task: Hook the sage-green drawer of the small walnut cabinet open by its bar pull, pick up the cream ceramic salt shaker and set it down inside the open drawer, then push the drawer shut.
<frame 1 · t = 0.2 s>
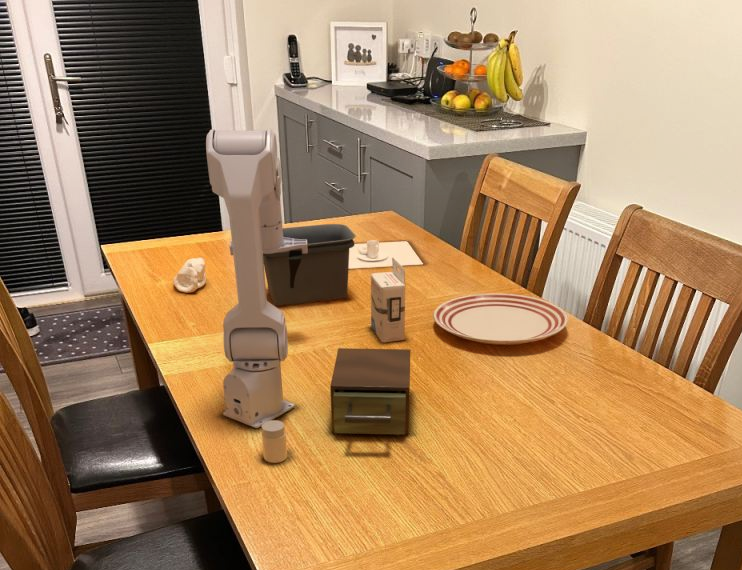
hand: (272, 286, 156), 11 cm above the table, tool pointing down, fingers open, 7 cm apart
storage bin: (306, 296, 182), on the table
cabinet: (372, 411, 135), on the table
ink box: (387, 335, 163), on the table
teacup and saucer: (377, 255, 207), on the table
salt shaker: (275, 456, 122), on the table
dinner plate: (498, 329, 165), on the table
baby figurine: (191, 286, 187), on the table
drawer: (370, 402, 129), point 4 cm above the table, slide at 0.5 cm
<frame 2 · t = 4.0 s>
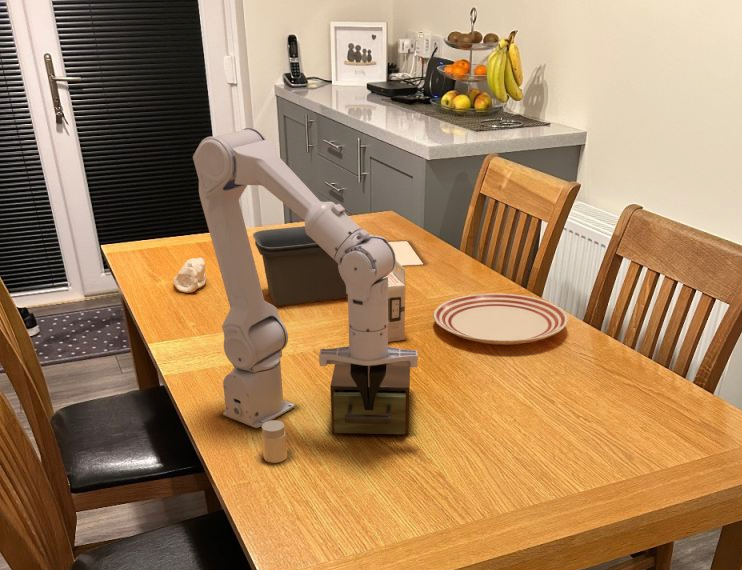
hand: (369, 407, 123), 6 cm above the table, tool pointing down, fingers closed
nothing on the table moved.
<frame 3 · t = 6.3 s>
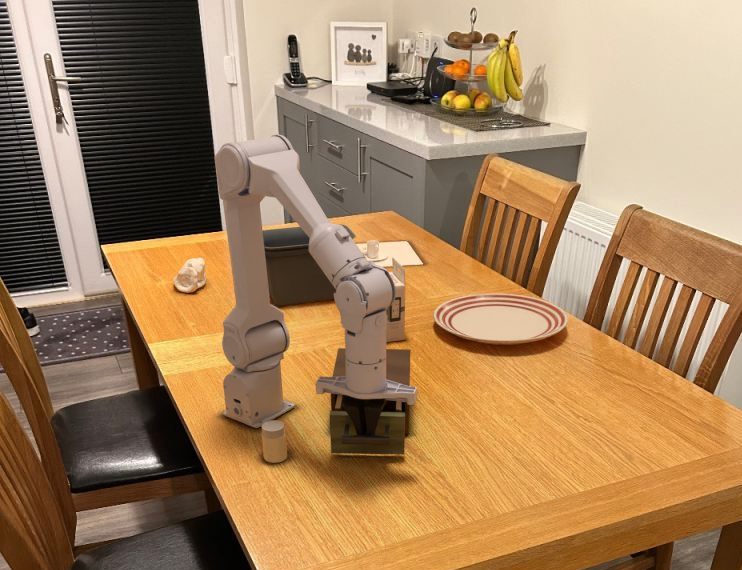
hand: (366, 440, 118), 4 cm above the table, tool pointing down, fingers closed, pressing on drawer
drawer: (368, 421, 123), point 4 cm above the table, slide at 6.7 cm, touching gripper
everything else where it was.
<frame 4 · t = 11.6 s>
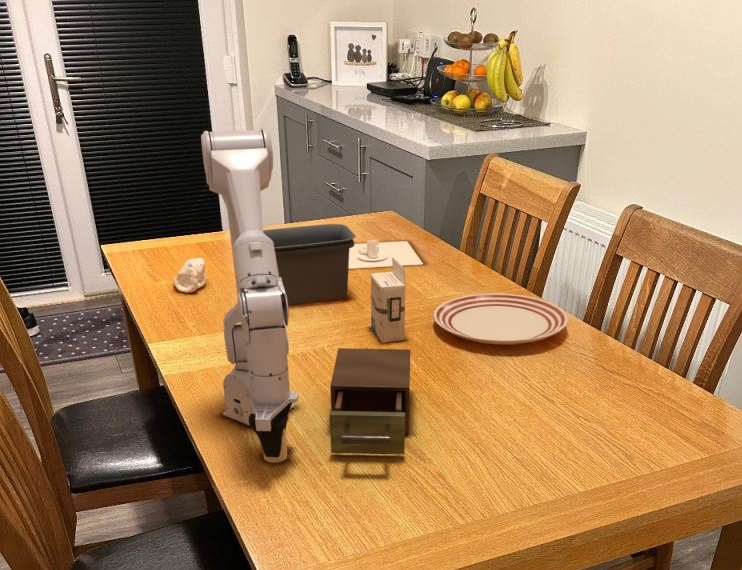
hand: (274, 448, 122), 1 cm above the table, tool pointing down, fingers closed on salt shaker, 3 cm apart
salt shaker: (275, 456, 123), on the table, touching gripper
drawer: (368, 420, 123), point 4 cm above the table, slide at 6.6 cm
everything else where it was.
when the fingers open (5 cm above the table, at t = 17.9 s): salt shaker stays where it is, resting on drawer.
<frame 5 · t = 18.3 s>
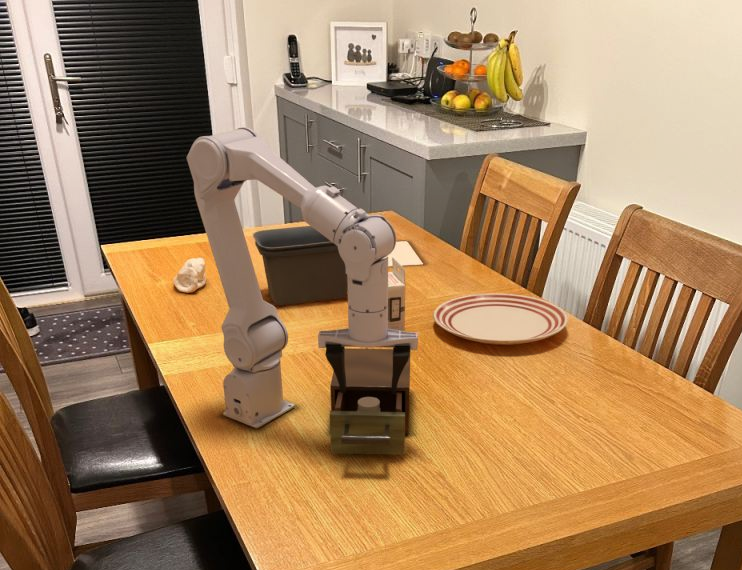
hand: (368, 390, 121), 9 cm above the table, tool pointing down, fingers open, 7 cm apart
salt shaker: (369, 432, 125), point 2 cm above the table, touching drawer
drawer: (368, 420, 123), point 4 cm above the table, slide at 6.6 cm, touching salt shaker
everything else where it was.
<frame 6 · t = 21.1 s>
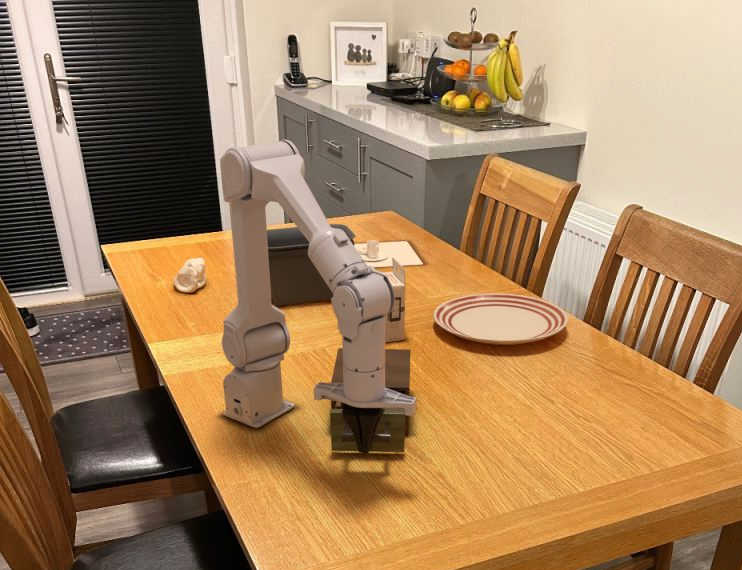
hand: (365, 449, 115), 5 cm above the table, tool pointing down, fingers closed
drawer: (369, 418, 124), point 4 cm above the table, slide at 5.9 cm, touching gripper, salt shaker
everything else where it was.
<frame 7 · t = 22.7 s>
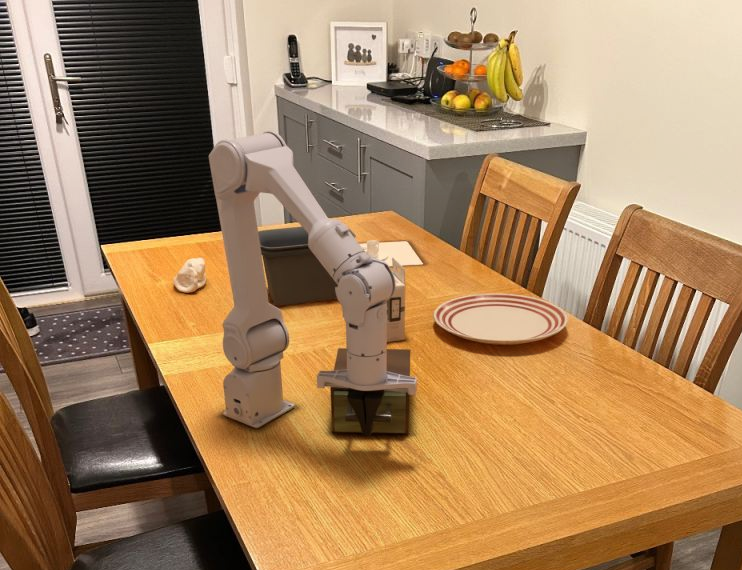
hand: (367, 431, 120), 4 cm above the table, tool pointing down, fingers closed, pressing on drawer
salt shaker: (371, 412, 130), point 2 cm above the table, touching drawer
drawer: (371, 401, 129), point 4 cm above the table, slide at 0.0 cm, touching cabinet, gripper, salt shaker
everything else where it was.
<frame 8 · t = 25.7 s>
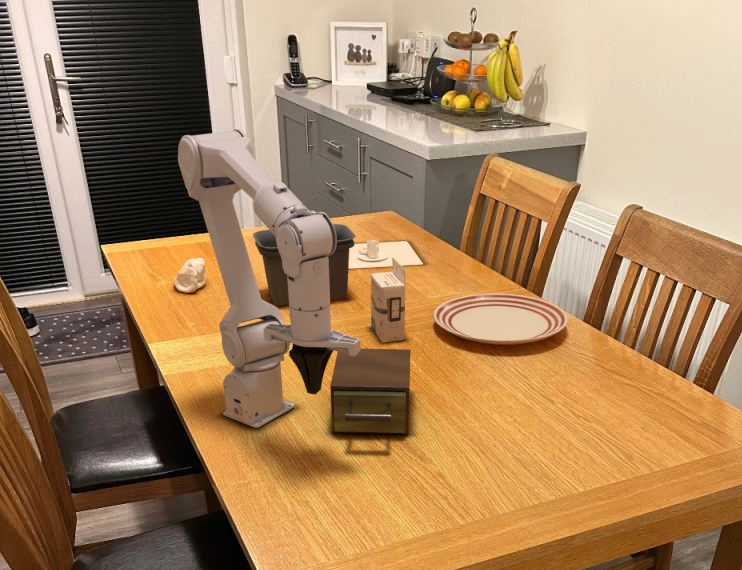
hand: (314, 391, 118), 10 cm above the table, tool pointing down, fingers closed
drawer: (371, 401, 129), point 4 cm above the table, slide at 0.0 cm, touching salt shaker
everything else where it was.
at the end: drawer pulled out 6.7 cm at the most during the clip, back to where it started at the end; salt shaker 0.7 cm from the target spot in the cabinet, point 1.9 cm above the cabinet's base; drawer slide at 0.0 cm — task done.
